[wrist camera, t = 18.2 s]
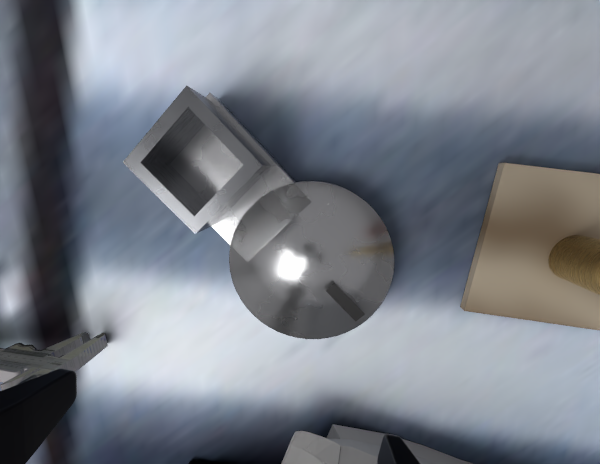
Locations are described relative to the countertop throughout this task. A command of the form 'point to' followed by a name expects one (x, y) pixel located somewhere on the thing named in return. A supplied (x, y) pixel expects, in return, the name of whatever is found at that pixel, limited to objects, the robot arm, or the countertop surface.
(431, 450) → the iron
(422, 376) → the countertop surface
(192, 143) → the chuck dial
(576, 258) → the brass cylinder
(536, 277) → the tan square plate
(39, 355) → the caliper
